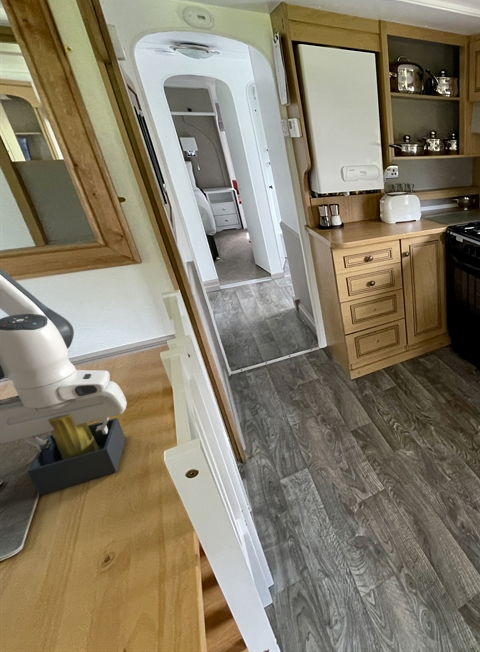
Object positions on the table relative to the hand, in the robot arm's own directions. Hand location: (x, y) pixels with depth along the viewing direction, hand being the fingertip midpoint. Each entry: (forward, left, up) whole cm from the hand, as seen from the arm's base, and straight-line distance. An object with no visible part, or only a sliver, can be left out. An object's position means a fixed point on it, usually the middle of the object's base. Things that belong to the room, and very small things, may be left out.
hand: (75, 441), depth 84 cm
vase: (0, 0, -7) cm, 7 cm away
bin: (0, 0, -7) cm, 7 cm away
